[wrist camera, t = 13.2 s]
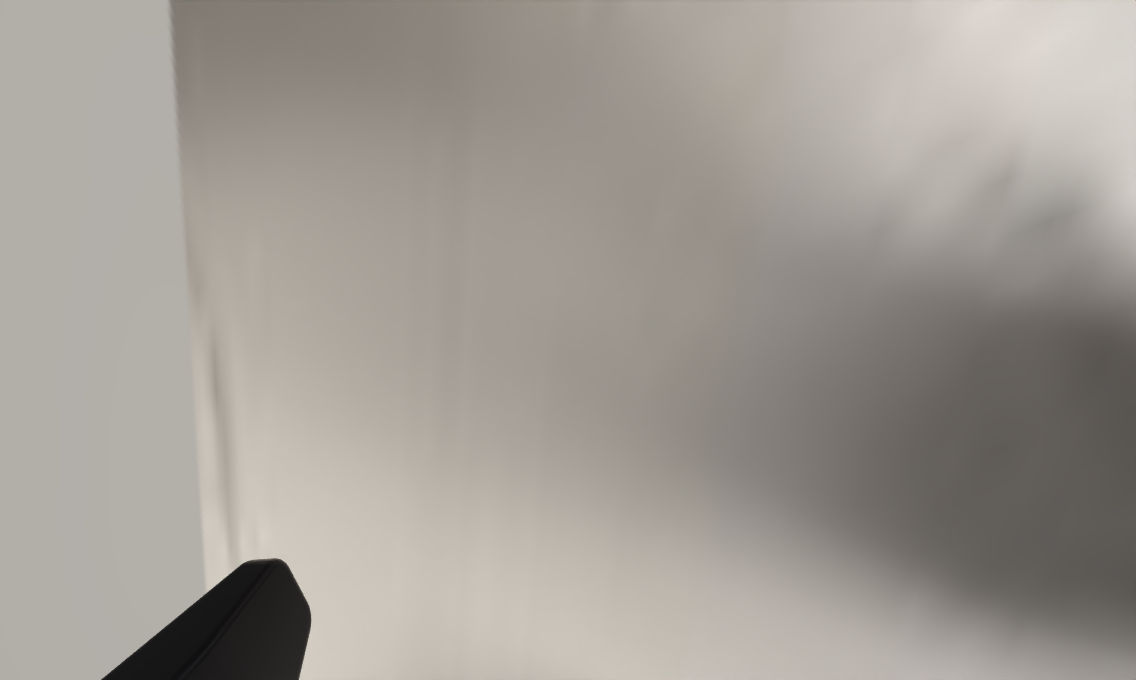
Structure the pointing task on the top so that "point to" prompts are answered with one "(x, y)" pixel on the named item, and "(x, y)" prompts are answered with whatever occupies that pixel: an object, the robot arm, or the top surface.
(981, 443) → the top surface
